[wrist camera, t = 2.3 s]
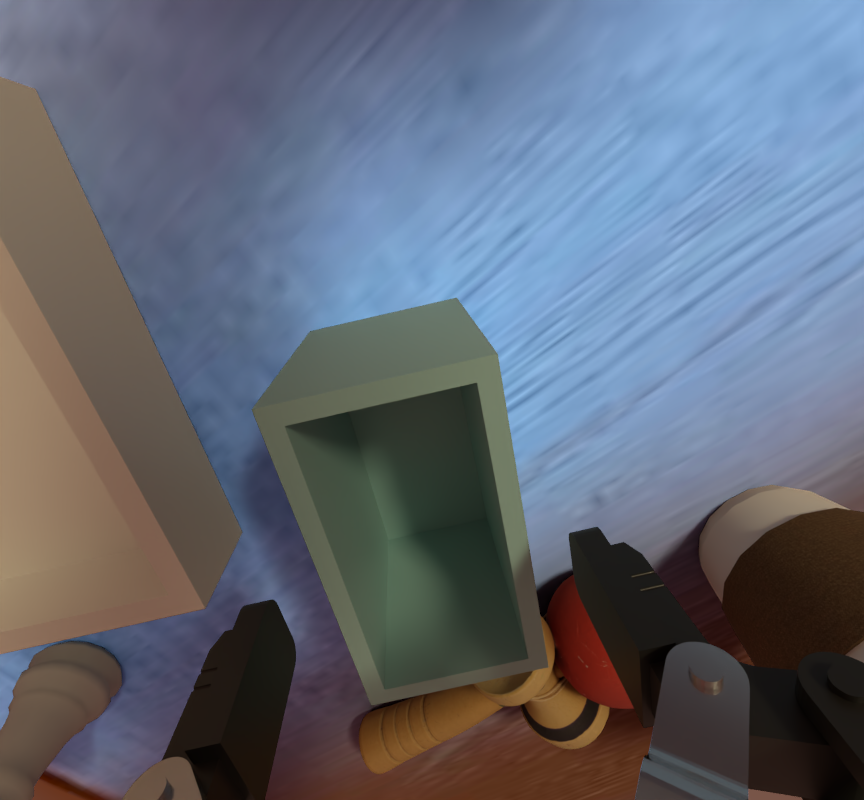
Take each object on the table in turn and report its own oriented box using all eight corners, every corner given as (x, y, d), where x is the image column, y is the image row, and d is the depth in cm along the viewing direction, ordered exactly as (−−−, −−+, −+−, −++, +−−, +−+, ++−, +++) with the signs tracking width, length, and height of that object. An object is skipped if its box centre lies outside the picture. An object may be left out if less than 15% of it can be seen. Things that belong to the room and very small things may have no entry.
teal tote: (310, 330, 18) (251, 409, 11) (456, 297, 18) (497, 353, 11) (379, 543, 22) (371, 705, 15) (498, 517, 22) (548, 667, 15)
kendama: (428, 726, 30) (688, 618, 24) (410, 845, 24) (747, 739, 18) (353, 647, 29) (609, 513, 23) (314, 752, 23) (645, 607, 17)
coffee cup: (612, 582, 24) (794, 889, 13) (738, 409, 21) (1125, 628, 10) (766, 631, 27) (1029, 927, 16) (902, 482, 23) (1365, 727, 12)
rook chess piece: (65, 622, 23) (-95, 819, 15) (144, 664, 24) (33, 862, 17) (18, 669, 24) (-155, 876, 16) (97, 707, 25) (-29, 913, 18)
